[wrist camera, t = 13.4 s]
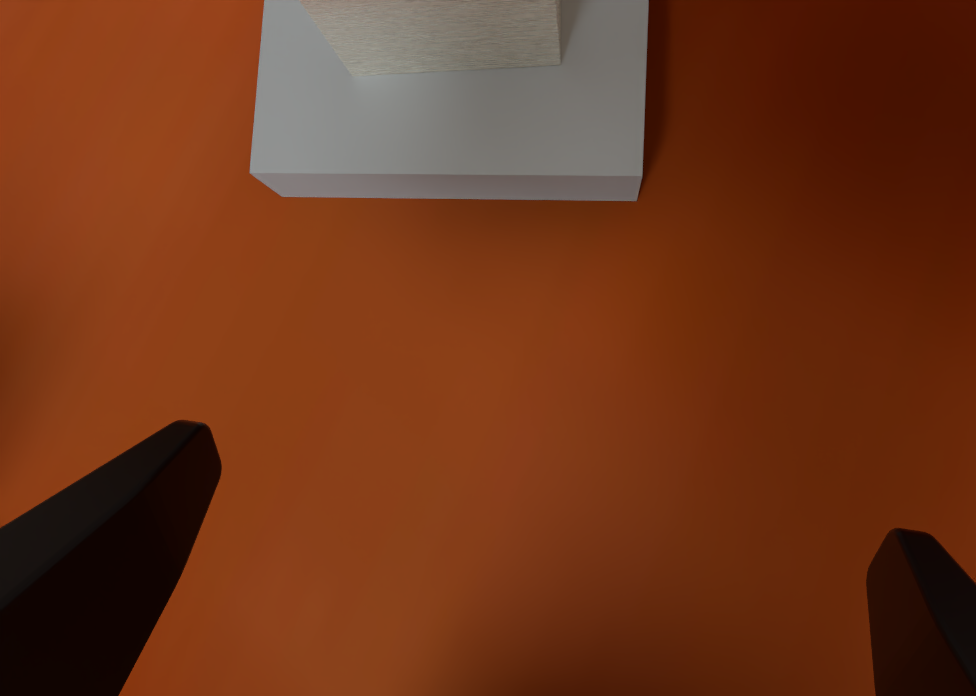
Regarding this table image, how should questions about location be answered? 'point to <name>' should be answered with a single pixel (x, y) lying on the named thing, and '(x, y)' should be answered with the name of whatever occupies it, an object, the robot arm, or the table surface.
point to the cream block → (439, 34)
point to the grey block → (455, 117)
